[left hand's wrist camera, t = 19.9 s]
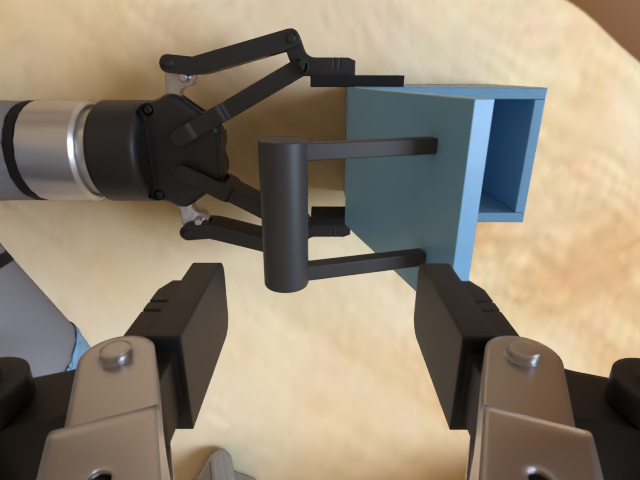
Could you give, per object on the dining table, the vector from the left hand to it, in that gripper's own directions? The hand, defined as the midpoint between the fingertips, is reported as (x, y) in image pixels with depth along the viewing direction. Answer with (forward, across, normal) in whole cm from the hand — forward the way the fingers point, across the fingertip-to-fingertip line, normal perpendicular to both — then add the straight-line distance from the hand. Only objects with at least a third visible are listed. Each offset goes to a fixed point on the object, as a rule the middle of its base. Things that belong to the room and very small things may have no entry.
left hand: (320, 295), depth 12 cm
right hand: (+23, -6, 0) cm, 24 cm away
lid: (+13, -5, 0) cm, 14 cm away
